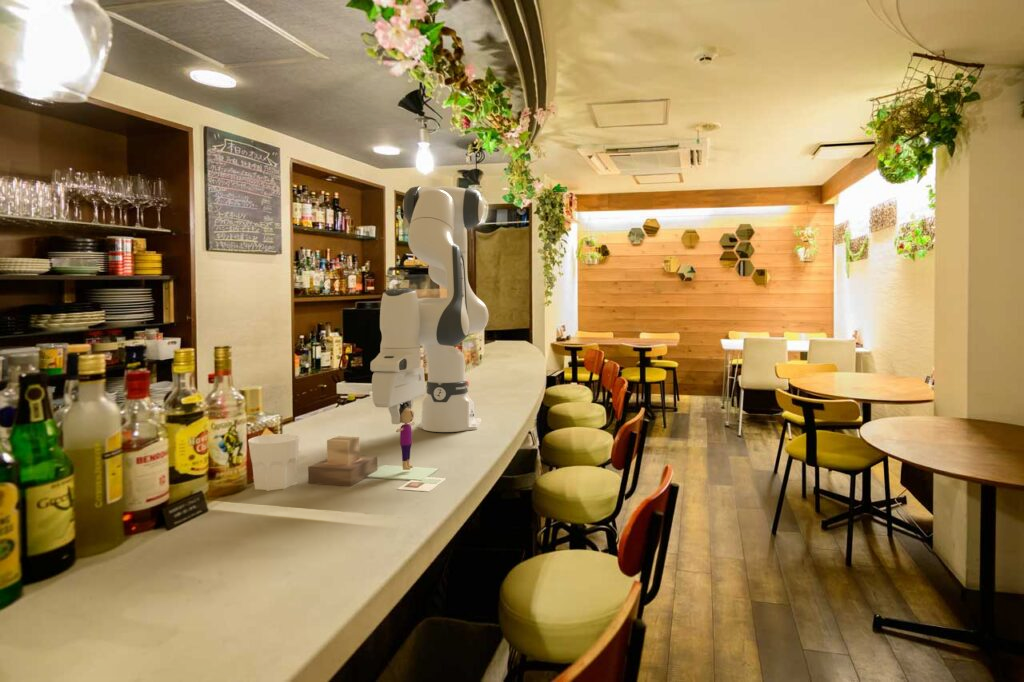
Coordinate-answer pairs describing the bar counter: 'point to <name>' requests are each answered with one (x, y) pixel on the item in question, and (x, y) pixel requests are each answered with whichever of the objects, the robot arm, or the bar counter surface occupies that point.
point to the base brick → (342, 471)
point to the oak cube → (343, 450)
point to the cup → (274, 460)
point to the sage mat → (402, 473)
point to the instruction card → (422, 484)
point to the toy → (406, 434)
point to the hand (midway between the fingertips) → (401, 421)
